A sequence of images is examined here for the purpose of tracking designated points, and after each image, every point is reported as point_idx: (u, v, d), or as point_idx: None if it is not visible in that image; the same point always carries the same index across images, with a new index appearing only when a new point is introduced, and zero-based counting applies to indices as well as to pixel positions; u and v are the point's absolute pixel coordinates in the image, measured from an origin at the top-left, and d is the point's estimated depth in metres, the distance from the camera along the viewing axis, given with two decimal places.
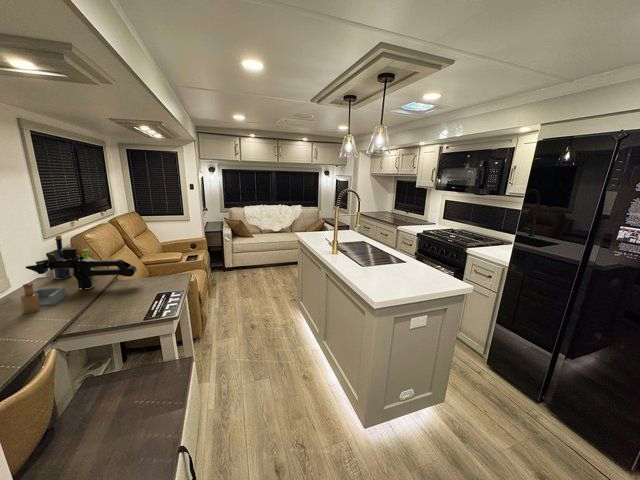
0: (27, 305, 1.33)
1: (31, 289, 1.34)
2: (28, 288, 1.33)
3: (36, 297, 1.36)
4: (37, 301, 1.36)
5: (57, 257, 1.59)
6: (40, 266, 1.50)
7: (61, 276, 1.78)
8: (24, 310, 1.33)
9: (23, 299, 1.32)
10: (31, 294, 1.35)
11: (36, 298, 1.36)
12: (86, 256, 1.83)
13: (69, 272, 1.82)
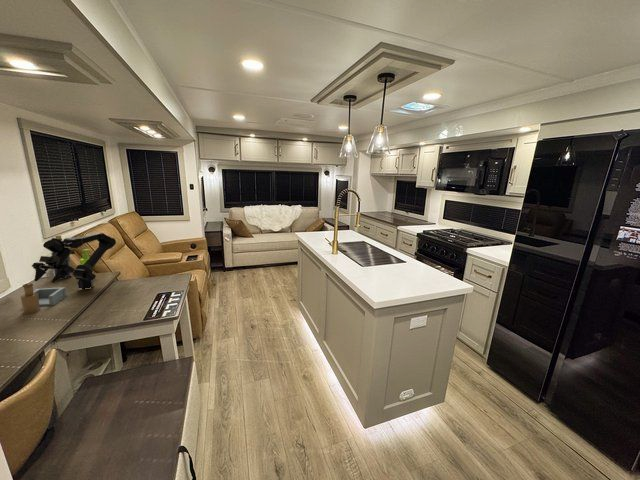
0: (27, 305, 1.33)
1: (31, 289, 1.34)
2: (28, 288, 1.33)
3: (36, 297, 1.36)
4: (37, 301, 1.36)
5: None
6: (68, 267, 1.46)
7: None
8: (24, 310, 1.33)
9: (23, 299, 1.32)
10: (31, 294, 1.35)
11: (36, 298, 1.36)
12: (86, 256, 1.83)
13: None
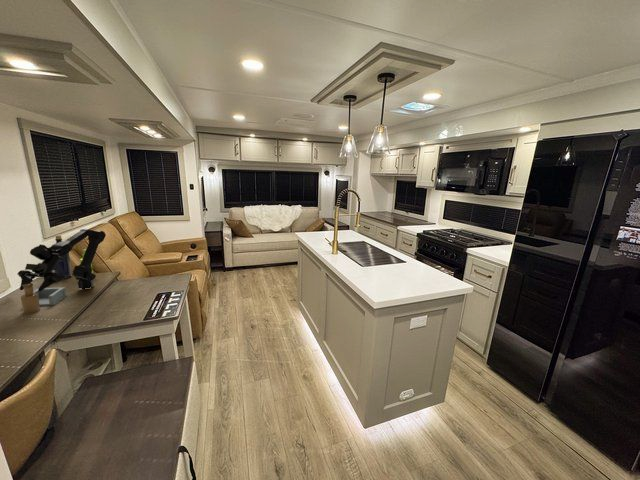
0: (27, 305, 1.33)
1: (31, 289, 1.34)
2: (28, 288, 1.33)
3: (36, 297, 1.36)
4: (37, 301, 1.36)
5: None
6: (56, 275, 1.39)
7: None
8: (24, 310, 1.33)
9: (23, 299, 1.32)
10: (31, 294, 1.35)
11: (36, 298, 1.36)
12: None
13: (69, 272, 1.82)
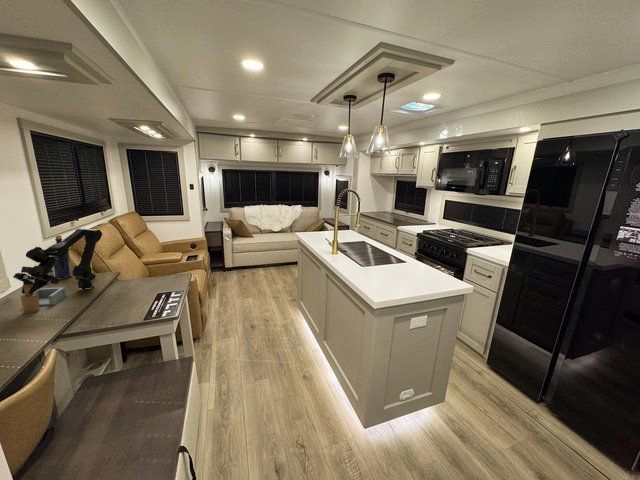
0: (26, 305, 1.33)
1: None
2: (28, 288, 1.33)
3: (36, 297, 1.36)
4: (37, 301, 1.36)
5: None
6: (52, 277, 1.37)
7: (61, 276, 1.78)
8: (24, 310, 1.33)
9: (23, 299, 1.32)
10: (31, 294, 1.35)
11: (36, 298, 1.36)
12: None
13: (69, 272, 1.82)
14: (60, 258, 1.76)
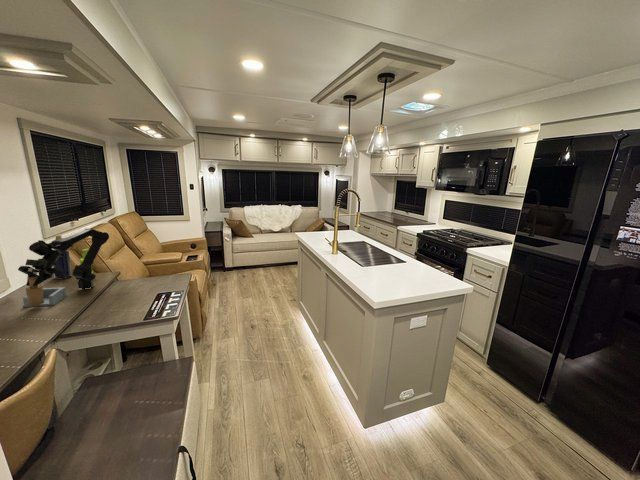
0: (31, 297, 1.36)
1: None
2: (33, 280, 1.36)
3: (40, 289, 1.39)
4: (41, 293, 1.40)
5: None
6: (56, 270, 1.40)
7: (61, 276, 1.78)
8: (29, 302, 1.37)
9: (28, 291, 1.35)
10: (36, 286, 1.38)
11: (40, 290, 1.39)
12: None
13: (69, 272, 1.82)
14: (60, 258, 1.76)
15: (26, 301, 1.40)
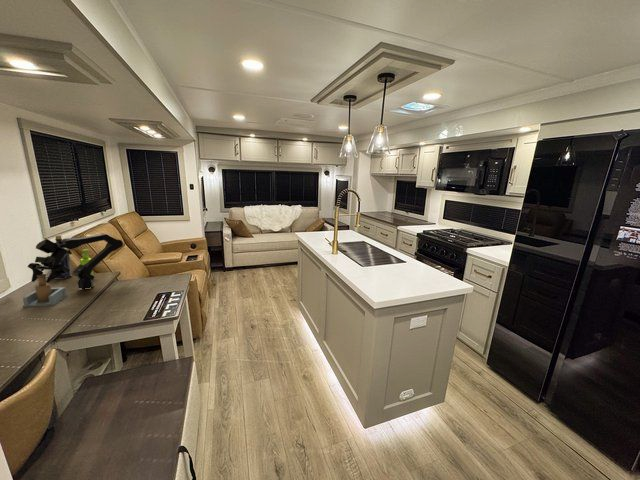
0: (40, 294, 1.43)
1: (44, 279, 1.45)
2: (42, 278, 1.44)
3: (49, 287, 1.46)
4: (50, 290, 1.47)
5: None
6: (64, 267, 1.47)
7: (61, 276, 1.78)
8: (38, 299, 1.44)
9: (37, 288, 1.43)
10: (44, 284, 1.45)
11: (49, 288, 1.46)
12: (86, 256, 1.83)
13: (69, 272, 1.82)
14: None
15: (26, 301, 1.40)
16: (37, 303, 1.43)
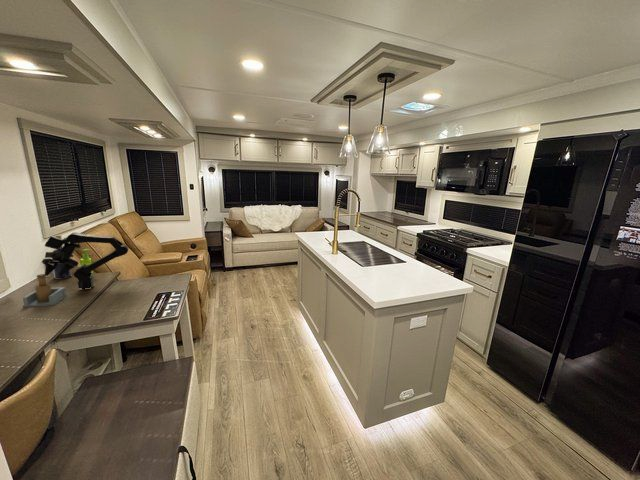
0: (40, 294, 1.43)
1: (44, 279, 1.44)
2: (42, 278, 1.43)
3: (49, 287, 1.46)
4: (50, 291, 1.47)
5: None
6: (71, 260, 1.52)
7: (61, 276, 1.78)
8: (38, 299, 1.44)
9: (37, 288, 1.42)
10: (44, 284, 1.45)
11: (49, 288, 1.46)
12: (86, 256, 1.83)
13: (69, 272, 1.82)
14: None
15: (26, 301, 1.40)
16: (37, 303, 1.43)
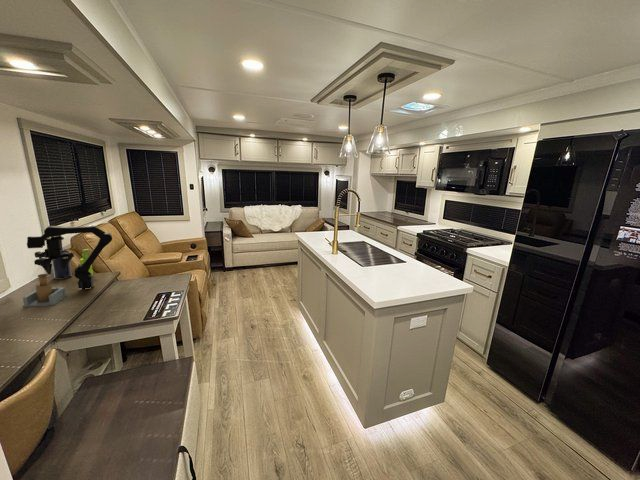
0: (40, 294, 1.43)
1: (45, 279, 1.45)
2: (43, 278, 1.44)
3: (49, 287, 1.46)
4: (50, 291, 1.47)
5: None
6: (35, 262, 1.47)
7: (61, 276, 1.78)
8: (38, 298, 1.44)
9: (37, 288, 1.43)
10: (45, 284, 1.45)
11: (49, 288, 1.46)
12: (86, 256, 1.83)
13: (69, 272, 1.82)
14: None
15: (26, 301, 1.40)
16: (37, 303, 1.43)
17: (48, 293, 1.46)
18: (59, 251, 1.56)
